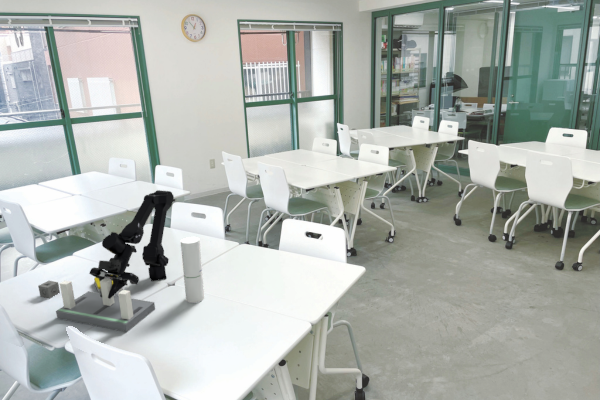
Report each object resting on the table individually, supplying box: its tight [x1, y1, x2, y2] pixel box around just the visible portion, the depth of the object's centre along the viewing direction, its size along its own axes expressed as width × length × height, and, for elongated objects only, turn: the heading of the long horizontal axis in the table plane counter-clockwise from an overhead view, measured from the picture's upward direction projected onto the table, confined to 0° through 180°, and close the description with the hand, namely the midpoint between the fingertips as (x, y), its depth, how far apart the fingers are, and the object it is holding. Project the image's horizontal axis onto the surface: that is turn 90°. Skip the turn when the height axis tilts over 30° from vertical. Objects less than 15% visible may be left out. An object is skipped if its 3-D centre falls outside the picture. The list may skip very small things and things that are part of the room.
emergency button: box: [93, 275, 124, 293], centre depth 185 cm, size 9×4×15 cm
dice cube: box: [38, 280, 61, 300], centre depth 178 cm, size 5×5×5 cm
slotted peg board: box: [55, 280, 156, 333], centre depth 162 cm, size 16×31×13 cm, turn 72°
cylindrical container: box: [180, 236, 205, 304], centre depth 170 cm, size 7×7×25 cm
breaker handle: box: [100, 278, 115, 306], centre depth 163 cm, size 2×3×10 cm
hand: (105, 297), depth 162 cm, fingers closed on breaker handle, 3 cm apart
